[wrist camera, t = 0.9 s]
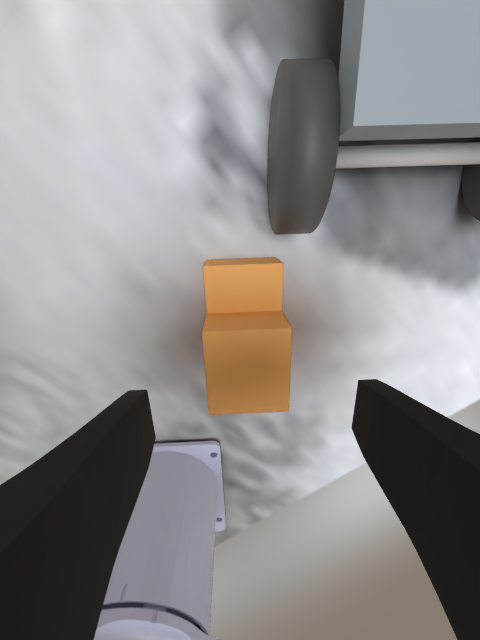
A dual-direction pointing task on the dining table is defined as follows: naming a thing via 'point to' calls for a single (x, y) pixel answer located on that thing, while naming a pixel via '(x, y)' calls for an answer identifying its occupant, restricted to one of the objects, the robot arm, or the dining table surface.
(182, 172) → the dining table surface
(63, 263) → the dining table surface
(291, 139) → the trolley
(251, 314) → the block
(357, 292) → the dining table surface
